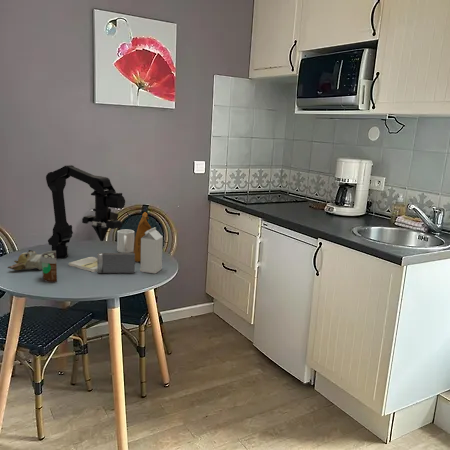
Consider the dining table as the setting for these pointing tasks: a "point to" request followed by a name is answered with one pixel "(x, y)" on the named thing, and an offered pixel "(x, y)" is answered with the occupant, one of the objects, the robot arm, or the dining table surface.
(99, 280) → the dining table surface
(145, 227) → the coffee package
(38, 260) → the ceramic sculpture
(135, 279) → the dining table surface
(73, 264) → the label board
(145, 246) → the milk carton
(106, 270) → the swing panel
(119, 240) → the mug
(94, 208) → the robot arm
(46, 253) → the food container
